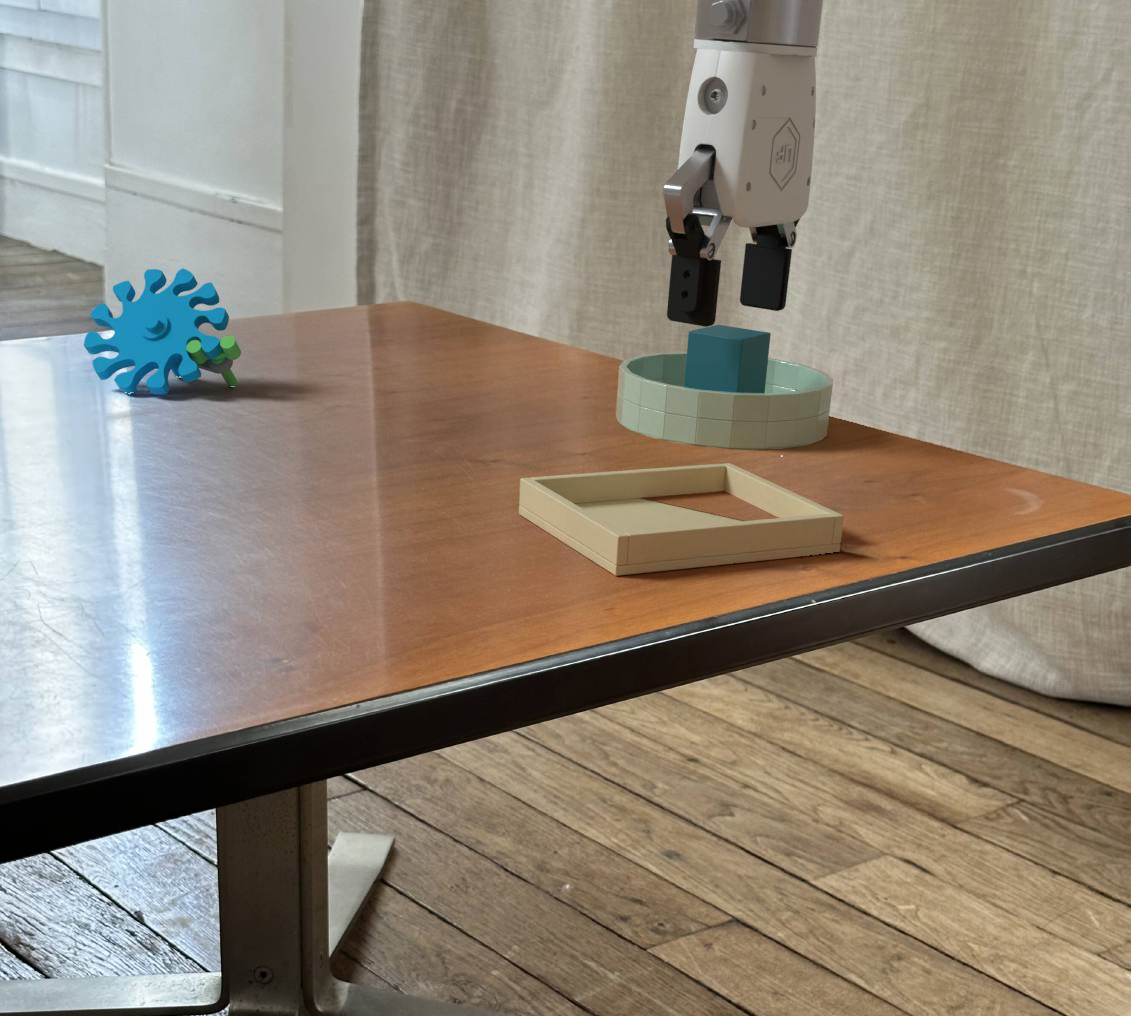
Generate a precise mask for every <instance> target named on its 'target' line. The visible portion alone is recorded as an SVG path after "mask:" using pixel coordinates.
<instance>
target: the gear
mask: <svg viewBox="0 0 1131 1016" xmlns="http://www.w3.org/2000/svg"><path fill="white" fill-rule="evenodd" d="M143 278H144V282H145V283H144V288H143V291H142V293H141V294H140V296H139V298H138V299H137V300H134V299H135V297H136V290H135V288H134V286H133V285H132V284H131V282H130V280H124V281H120V282H119V283H116V284H114V285H113V286H112V292H113V294H114V295H115V297H116V298H117V300H118V301H119V302H120V303H121V305H122V306H121V307H122V312H121V314H120V315H119V316H118V317H115V318H114V314H113V313H112V310H110V307H109V306H108V305H107V304H106V303H104V302H100V303H99V304H98V305H97V306H95V307H94V308H93V310H92V311H91V312H90V313H89V315H90V317H91V319H92V320H93V321H94V323H95V324H96V326H98V327H105V328H107V329H108V328H109V329H111V330H112V331H114V333H113V335H112V336H111V337H110V338H103V337H102V336H101V335H100V334H99V333H98V331H94V330H91V331H88V332H87V333H86V335H85V337H84V341H83V347H84V348H85V350H86V351H87V353H88V354H90V355H98V354H101V353H105V352H113V353H117V356H115V357H112V358H109V357H105V356H97V357H96V358H95V357H94V359H92V367H93V370H94V372H95V374H96V375H97V376H98V378H99V379H100V381H105V380H108V379H110V378H111V377H112V376H113V375H114V374H115V373H117V372H118V371H120V370H122V369H123V370H124V369H126V368H130V367H133V368H132V369H131V370H129V371H123V372H120V373H118V374H117V375H116V376H115V377H114V379H113V380H114V383H115V385H116V386H117V387H118V388H119V390H120V391H121V390H122V391H124V392H127V393H130V392H134V393H135V392H136V391H137V389H138V386H139V384H140V382H141V381H142V379H143V378H144V377H145V376H146V375H148V374H149V373H151V372H152V371H154V370H156V371H155V372H154V373H152V374H151V375H150V376H148V378H147V379H146V381H145V385H146V388H147V389H148V391H149V392H150V393H151V394H152V395H159V396H160V395H167V394H168V393H169V391H170V384H169V374H170V372H172V374H173V375H174V376H175V377H176V376H178V377H179V376H181V377H182V379H181V380H183V382H184V383H191V382H194V381H197V379H200V378H202V372H201V370H204V371H207V372H211V373H214V374H219V375H220V374H221V377H222V378H223V380H224V382H225V383H226V385H227V386H228V385H229V386H236V387H237V386H238V385H239V382H238V380H237V378H236V376H235V374H234V373H233V370H232V369H231V368H232V367H233V365H234V361H235V360H238V359H239V358H240V357H241V355H242V349H241V348H240V347H239V344H238V343H237V341H236V339H235V337H234V336H233V335H225V336H223V337H222V338H221V339H219V337H217V336H215V335H209V334H205V333H203V332H202V331H200V330H199V328H200V327H201V325H204V324H210V325H211V326H212V328H213V329H215V330H216V331H219V332H223V331H226V329H227V327H228V325H229V322H230V321H229V320H230V316H229V314H228V311H227V309H226V308H224V307H215V308H213V309H208V310H200V309H197V308H196V306H198V305H206V306H209V307H212V306H216V305H218V304H219V303H220V296H219V294H218V292H217V290H216V288H215V286H214V283H213V282H206V283H204V284H202V285H201V286H200V287H199V288H198V289H196V290H195V288H196V287H198V284H199V283H198V281H197V279H196V277H195V276H194V273H192V272H191V271H190V270H188V269H186V268H184V267H182V268H180V269H179V270H178V271H176V273H175V276H174V278H173V281H172V282H171V283H170V284H169V285H168V286H167V287H166V288H165V289H163V288H164V287H165V285H166V284H167V277H166V275H165V274H164V272H163V270H161V269H158V268H157V269H156V268H152V269H151V268H150V269H146V270H145V271H144V273H143ZM161 289H163V290H161ZM159 290H161V291H160V292H158V291H159ZM192 290H195V291H193V292H190V291H192ZM157 292H158V293H157ZM184 292H190V293H187V294H183V295H180V294H181V293H184ZM122 391H121V392H122ZM124 392H123V393H124Z"/></svg>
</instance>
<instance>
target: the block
mask: <svg viewBox="0 0 1131 1016" xmlns="http://www.w3.org/2000/svg"><path fill="white" fill-rule="evenodd" d="M771 335H772V334H771V332H767V331H761V330H754V329H748V328H743V327H737V326H730V325H723V324H716V325H711V326H707V327H702V328H697V329H692V330H689V331H688V335H687V337H688V338H687V347H686V348H687V349H686V352H687V358H686V370H685V382H684V387H688V388H694V389H701V390H711V391H723V392H734V393H765V384H766V374H767V364H768V358H769V355H770V354H769V353H770V344H771Z"/></svg>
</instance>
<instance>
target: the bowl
mask: <svg viewBox="0 0 1131 1016" xmlns="http://www.w3.org/2000/svg"><path fill="white" fill-rule="evenodd" d="M686 358H687V351H676V352H657V353H649V354H648V353H647V354H642V355H641V354H640V355H635V356H633V357H630V358H627V359H624V360H623V361H622V362H621V363H620V364H619V366H618V375H617V392H616V393H617V394H616V404H615V405H616V406H615V418H616V419H617V421H618V423H619V424H620V425H622V427H624V428H626V429H627V430H630V431H632V432H634V433H637V434H639V435H643V436H645V437H650V438H653V439H657V440H661V441H665V442H671V443H677V444H681V445H688V446H695V447H704V448H714V449H727V450H779V449H791V448H798V447H803V446H809V445H812V444H815V443H817V442H820V441H822V440H823V439H824V438H826V437H827V435H828V427H829V419H830V411H831V403H832V394H833V387H834V386H833V385H834V377H832V376H831V375H829V374H828V373H826V372H825V371H823V370H820V369H816V368H815V367H811V366H809V365H805V364H803V363H802V364H801V363H796V362H793V361H787V360H783V359H777V358H770V357H768V364H767V374H766V384H765V393H734V392H723V391H711V390H701V389H694V388H688V387H684V382H685V370H686Z"/></svg>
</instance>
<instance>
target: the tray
mask: <svg viewBox="0 0 1131 1016" xmlns="http://www.w3.org/2000/svg"><path fill="white" fill-rule="evenodd" d="M715 492H726V493H727V494H730V495H731V496H734V497H736V498H738V499H740V500H742V501H743V502H746V503H748V504H750V505H752V506H754V507H756V508H758V509H760V510H761V511H765V512H767V513H769V514H770V515H772V516H775V517H776V518H764V519H755V520H742V519H738V518H734V517H730V516H725V515H720V514H715V513H711V512H706V511H703V510H698V509H693V508H688V507H684V506H679V505H675V504H670V503H666V502H662V501H658V500H653V499H648V498H653V497H654V498H655V497H664V496H665V497H666V496H667V497H668V496H678V495H692V494H702V493H703V494H704V493H715ZM518 500H519V501H518V504H519V505H518V515H520V516H521V517H523V518H524V519H526V520H527V521H529V522H530V523H532V524H534V525H535V526H537V527H538V528H540V529H542V530H543V531H545V532H546V533H548V534H549V535H551V536H552V537H554V538H556V539H557V540H559V541H560V542H562V543H564V544H565V545H566V546H568V547H570V548H571V549H573V550H574V551H576V552H578V553H579V554H580V555H582V556H584V557H585V558H587V559H588V560H590V561H592V562H593V563H594V564H596V565H598V566H600V567H601V568H603V569H604V570H606V571H607V572H609V573H610V574H612V575H614V576H616V577H618V576H626V575H627V576H628V575H629V576H630V575H638V574H647V573H655V572H656V573H657V572H665V571H677V570H686V569H695V568H704V567H705V568H706V567H713V566H725V565H733V564H734V563H735V564H743V563H752V562H753V563H754V562H762V561H773V560H782V559H792V558H802V557H809V556H810V555H812V556H820V555H819V554H821V555H826V554H825V553H831V554H834V553H833V552H839V553H840V552H841V543H842V536H843V529H844V520H845V515H843V514H841V513H839V512H837V511H835V510H833V509H830V508H829V507H826V506H825V505H822V504H819V503H817V502H815V501H813V500H811V499H809V498H807V497H804V496H803V495H800V494H798V493H795V492H794V491H791V490H789V489H787V488H785V487H783V486H781V485H779V484H777V483H774V482H773V481H770V480H768V479H765V478H763V477H761V476H758V475H757V474H754V473H752V472H751V471H748V470H746V469H743V468H741V467H739V466H737V465H735V464H732V462H731V463H730V462H724V463H711V464H710V463H709V464H696V465H695V464H693V465H680V466H668V467H666V466H665V467H653V468H643V469H642V468H641V469H638V468H637V469H627V470H626V469H625V470H612V471H602V472H601V471H598V472H586V473H584V472H583V473H571V474H558V475H542V476H531V477H521V478H520V479H519V499H518ZM801 556H802V557H801ZM810 557H811V556H810Z"/></svg>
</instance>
